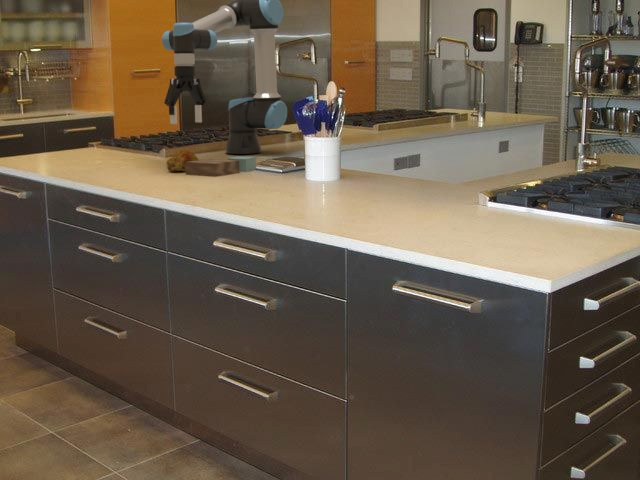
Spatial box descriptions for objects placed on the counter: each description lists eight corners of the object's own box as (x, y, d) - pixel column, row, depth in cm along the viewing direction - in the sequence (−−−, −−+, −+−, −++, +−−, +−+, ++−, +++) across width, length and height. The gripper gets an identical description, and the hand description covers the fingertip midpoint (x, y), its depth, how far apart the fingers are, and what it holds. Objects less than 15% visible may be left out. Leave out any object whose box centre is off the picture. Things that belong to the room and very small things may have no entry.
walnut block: (210, 171, 338) (210, 158, 337) (239, 173, 331) (239, 160, 330) (185, 175, 327) (185, 162, 326) (215, 177, 319) (214, 163, 318)
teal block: (238, 169, 344) (237, 156, 343) (256, 170, 341) (255, 157, 340) (227, 171, 337) (227, 158, 336) (246, 172, 334) (245, 159, 333)
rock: (189, 182, 333) (168, 166, 329) (181, 184, 340) (160, 168, 336) (204, 158, 337) (184, 142, 333) (196, 160, 344) (175, 145, 340)
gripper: (199, 65, 342) (201, 121, 345) (153, 65, 321) (155, 124, 325) (214, 65, 337) (215, 121, 341) (168, 65, 317) (170, 124, 321)
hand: (186, 123), depth 333 cm, fingers open, 13 cm apart
